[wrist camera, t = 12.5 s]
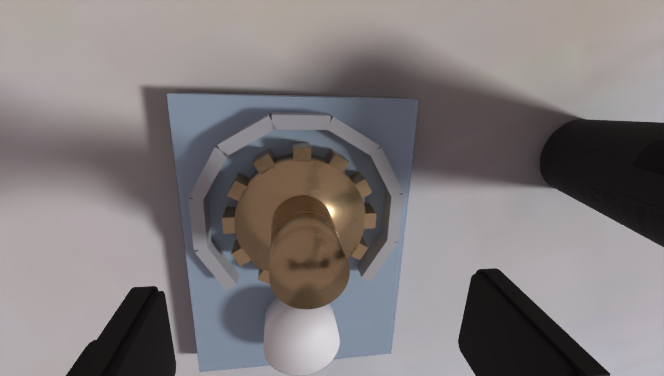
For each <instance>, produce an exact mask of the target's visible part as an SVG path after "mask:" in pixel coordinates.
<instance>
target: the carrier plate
mask: <svg viewBox="0 0 664 376" xmlns="http://www.w3.org/2000/svg"><path fill="white" fill-rule="evenodd" d="M167 102H168V110H169V118H170V127H171V135H172V144H173V152H174V160H175V169H176V177H177V186H178V194H179V202H180V211H181V219H182V228H183V236H184V245H185V253H186V261H187V270H188V278H189V287H190V295H191V303H192V312H193V320H194V329H195V337H196V346H197V354H198V362H199V371H200V372H205V371H215V370H226V369H236V368H246V367H257V366H267V365H271V366H272V367H273V368H274V369H276V370H278V371H279V372H282V373H285V374H289V375H306V374H310V373H313V372H316V371H318V370H320V369H322V368H324V367H325V366H326V365H328V364H329V363H330V362H331V361H332V360H333V359H340V358H350V357H360V356H371V355H381V354H391V350H392V341H393V332H394V323H395V314H396V305H397V296H398V287H399V278H400V268H401V259H402V250H403V241H404V232H405V223H406V214H407V205H408V196H409V187H410V178H411V169H412V160H413V151H414V142H415V133H416V124H417V115H418V106H419V100H416V99H410V98H377V97H338V96H299V95H260V94H220V93H181V92H175V93H168V94H167ZM292 142H309V144H310V146H311V154H313V155H318V156H321V157H324V158H325V157H326V155H327V153H328V152H329V150H330V148H331V149H333V150H335V151H336V152H338V153H340V154H341V155H343V156H344V157H345V158H346V159H347V160H348V161H349V164H348V166H347V168H346V169H345V172H346V174H347V175H348V176H349V177H350V176H351V175H353V174H355V173H357V172H358V171H359V172H360V173H361V175H362V176H363V177H364V178H365V180H366V181H367V183H368V185H369V187H370V189H371V191H372V193H371V194H369V195H367V196H366V197H364V198H362V200H363V203H364V204H370V205H371V206H372V208H373V209H374V210H375V212H376V213H377V214H376V226H375V228H367V229H364V232H363V235H362V237H363V239H364V241H365V242H366V244H367V246H368V249H367V250H366V252H365V253H364V255H363V256H362V258H361V259H360V260H358V259H356V258H354V257H352V256H350V257H349V258H348V259H347V260H348V263H349V267H350V276H349V281H348V283H347V286H346V288H345V289H344V291H343V292H342V293H341V295H340V296H339V297H338V298H336V299H335V300H334V301H333V302H331V303H329V304H327V305H325V306H323V307H320V308H316V309H298V308H294V307H291V306H288V305H286V304H285V303H283V302H282V301H280V300H279V299H278V298H277V297H276V295H275V294H274V292H273V291H272V288H271V286H270V284H267V283H265V282H263V281H260V280H258V273H259V267H257V266H256V265H255V264H254V263H252V262H251V261H249V262H247V263H246V264H244V265H242V266H240V265H239V264H238V262H237V261H236V260H235V258H234V257H233V256H232V255H231V253H232V249H233V245H234V241H236V240H237V236H236V233H231V234H223V225H222V217H223V214H224V212H225V209H226V207H237V204H238V201H237V200H235V199H233V198H231V197H229V196H227V194H228V192H229V190H230V187H231V185H232V184H233V182H234V180H235V178H236V176H237V175H238V173H241V174H243V175H244V176H246V177H248V178H250V177H251V175H252V174H253V173H254V172H255V171H256V170H257V169H256V168H255V166H254V164H253V161H254V157H255V156H256V155H258V154H260V153H262V152H263V151H265V150H267V149H269V148H270V150H271V152H272V153H273V155H274V156H275V158H277V157H280V156H283V155H288V154H292Z"/></svg>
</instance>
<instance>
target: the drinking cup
mask: <svg viewBox="0 0 664 376" xmlns="http://www.w3.org/2000/svg"><path fill="white" fill-rule="evenodd" d="M540 168H541V173H542V175H543V178H544V179H545V181H546V182H547V183H548V184H549V185H551V186H552V187H554V188H556V189H558V190H559V191H561V192H563V193H565V194H567V195H569V196H570V197H572V198H574V199H576V200H578V201H580V202H582V203H583V204H585V205H587V206H589V207H591V208H593V209H594V210H596V211H598V212H600V213H602V214H604V215H605V216H607V217H609V218H611V219H613V220H615V221H617V222H618V223H620V224H622V225H624V226H626V227H628V228H629V229H631V230H633V231H635V232H637V233H639V234H640V235H642V236H644V237H646V238H648V239H650V240H651V241H653V242H655V243H657V244H659V245H661V246H663V247H664V123H656V122H632V121H607V120H575V121H572V122H569V123H567V124H565V125H563V126H562V127H560V128H559V129H558V130H556V131H555V132H554V133H553V135H552V136H551V137H550V138H549V140H548V141H547V143H546V145H545V147H544V149H543V151H542V155H541V160H540Z"/></svg>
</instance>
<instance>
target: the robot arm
mask: <svg viewBox="0 0 664 376" xmlns="http://www.w3.org/2000/svg"><path fill="white" fill-rule="evenodd" d="M458 343H459V348H460V351H461V353H462V354H463V356H464V357H465V359H466V361H467V362H468V364H469V365H470V367H471V369H472V370H473V372H474V373H475V375H476V376H610V373H609V372H608V371H607V370H605V369H604V368H603V367H602V366H601V365H600V364H599V363H598V362H597V361H596V360H595V359H594V358H593V357H592V356H591V355H589V354H588V353H587V352H586V351H585V350H584V349H583V348H582V347H581V346H580V345H579V344H578V343H577V342H576V341H575V340H573V339H572V338H571V337H570V336H569V335H568V334H567V333H566V332H565V331H564V330H563V329H562V328H561V327H560V326H559V325H557V324H556V323H555V322H554V321H553V320H552V319H551V318H550V317H549V316H548V315H547V314H546V313H545V312H544V311H543V310H542V309H540V308H539V307H538V306H537V305H536V304H535V303H534V302H533V301H532V300H531V299H530V298H529V297H528V296H527V295H526V294H524V293H523V292H522V291H521V290H520V289H519V288H518V287H517V286H516V285H515V284H514V283H513V282H512V281H511V280H510V279H508V278H507V277H506V276H505V275H504V274H503V273H502V272H501V271H500V270H498V269H480V270H478V271H477V272H476V274H474V275H473V276H472V278H471V282H470V286H469V291H468V296H467V301H466V306H465V310H464V315H463V320H462V325H461V329H460V334H459V339H458ZM175 372H176V361H175V355H174V348H173V342H172V336H171V330H170V323H169V317H168V311H167V305H166V298H165V294H164V292H163V291H158V289H157V287H155V286H150V287H134V288H132V289H131V290H130V292H129V293H128V295H127V296H126V297H125V299H124V300H123V302H122V303H121V305H120V306H119V308H118V309H117V311H116V312H115V314H114V315H113V317H112V318H111V320H110V321H109V323H108V324H107V325H106V327H105V328H104V330H103V331H102V333H101V334H100V336H99V337H98V339H97V340H94V341H92V342H90V343H89V344H88V346H87V347H86V348H85V349H84V351H83V352H82V353H81V355H80V356H79V358H78V359H77V361H76V362H75V363H74V365H73V366H72V368H71V369H70V371H69V372H68V373H67V375H66V376H175Z"/></svg>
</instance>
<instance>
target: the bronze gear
mask: <svg viewBox="0 0 664 376" xmlns="http://www.w3.org/2000/svg"><path fill="white" fill-rule="evenodd" d="M253 164H254V166H255V168H256V169H257V170H256V171H255V172H254V173H253V174H252V175H251V177H250V178H248V177H246V176H244V175H243V174H241V173H238V175H237V176H236V178H235V180H234V182H233V184H232V185H231V187H230V190H229V192H228V194H227V196H229V197H231V198H233V199H235V200H237V201H238V204H237V207H226V209H225V212H224V214H223V217H222V225H223V234H231V233H236V236H237V240H236V241H234V245H233V249H232V253H231V255H232V256H233V257H234V258H235V260H236V261H237V262H238V264H239V265H240V266H242V265H244V264H246V263H247V262H249V261H251V262H252V263H254V264H255V265H256V266H257V267H259V273H258V280H260V281H263V282H265V283H267V284H270V286H271V288H272V291H273V292H274V294H275V295H276V297H277V298H278V299H279V300H280V301H282V302H283V303H285V304H286V305H288V306H291V307H294V308H298V309H316V308H320V307H323V306H325V305H327V304H329V303H331V302H333V301H334V300H335V299H336V298H338V297H339V296H340V295H341V293H342V292H343V291H344V289H345V288H346V286H347V283H348V281H349V276H350V267H349V263H348V260H347V259H348V258H349V257H350V256H352V257H354V258H356V259H358V260H360V259H361V258H362V256H363V255H364V253H365V252H366V250H367V249H368V246H367V244H366V242H365V241H364V239H363V237H362V235H363V232H364V229H367V228H375V226H376V214H377V213H376V212H375V210H374V209H373V208H372V206H371V205H370V204H364V203H363V200H362V198H364V197H366V196H367V195H369V194H371V193H372V191H371V189H370V187H369V185H368V183H367V181H366V180H365V178H364V177H363V176H362V175H361V173H360V172H359V171H358V172H357V173H355V174H353V175H351V176H350V177H349V176H348V175H347V174H346V172H345V169H346V168H347V166H348V164H349V161H348V160H347V159H346V158H345V157H344V156H343V155H341V154H340V153H338V152H336V151H335V150H333V149H331V148H330V150H329V152H328V153H327V155H326V157H325V158H324V157H321V156H318V155H313V154H311V146H310V144H309V142H292V154H288V155H283V156H280V157H277V158H275V156H274V155H273V153H272V152H271V150H270V148H269V149H267V150H265V151H263V152H262V153H260V154H258V155H256V156H255V157H254V161H253Z"/></svg>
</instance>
